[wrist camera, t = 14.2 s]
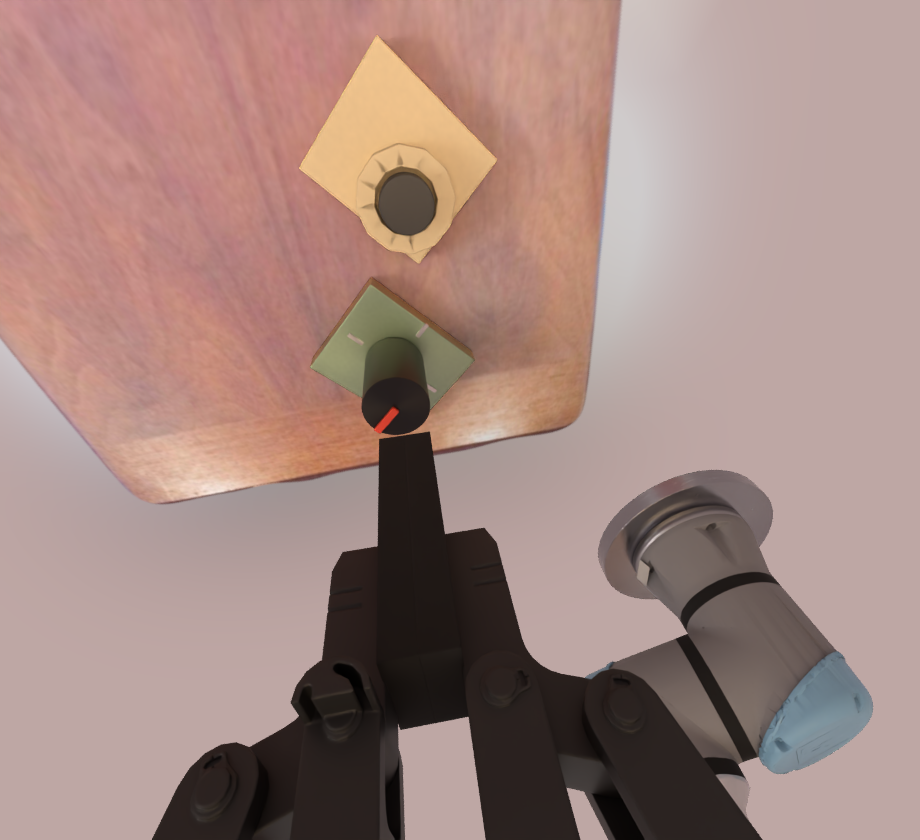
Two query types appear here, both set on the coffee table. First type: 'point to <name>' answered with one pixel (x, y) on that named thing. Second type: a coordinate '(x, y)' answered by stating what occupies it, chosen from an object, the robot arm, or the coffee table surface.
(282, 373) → the coffee table surface
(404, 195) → the button
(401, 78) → the button box
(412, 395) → the knob
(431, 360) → the dial panel
